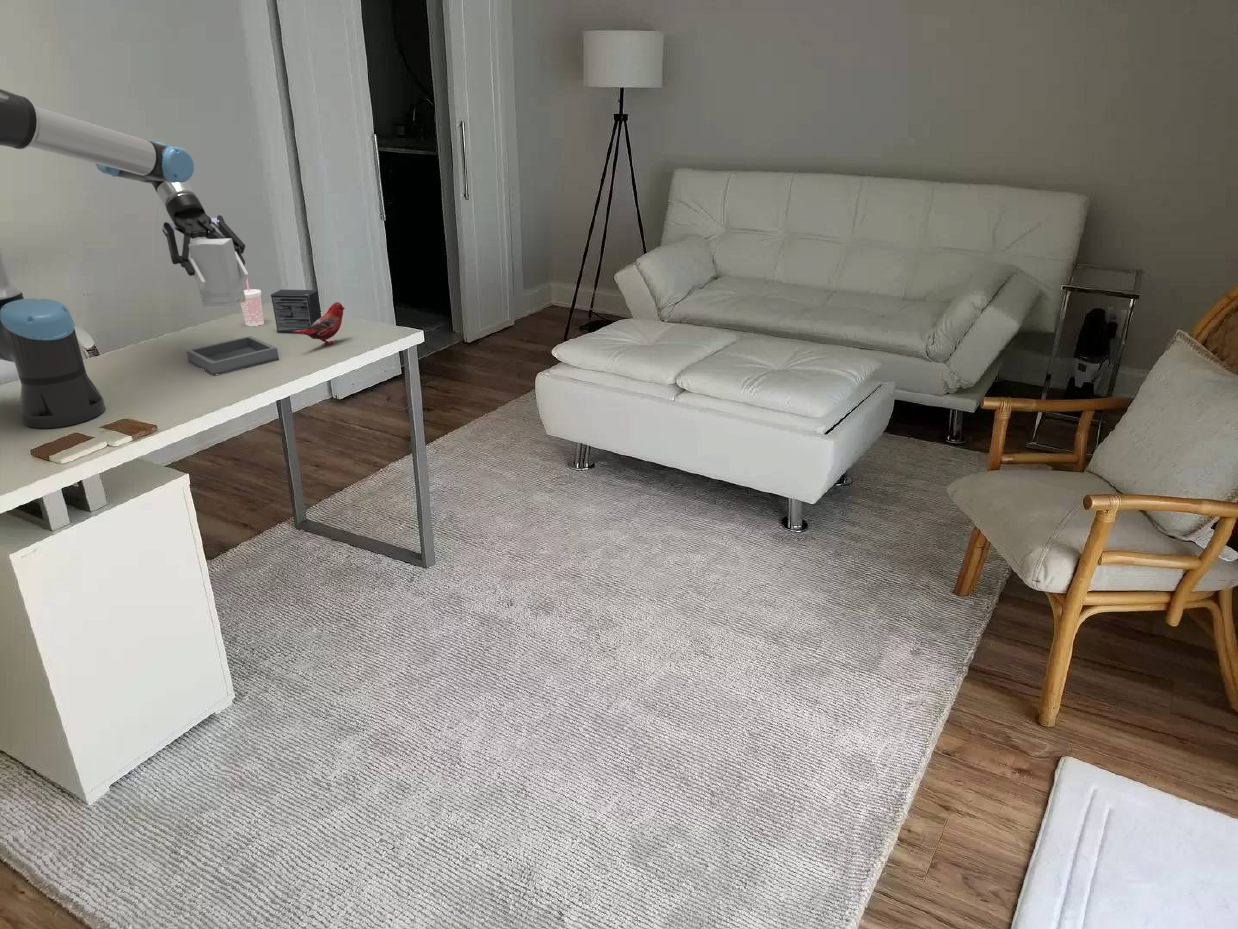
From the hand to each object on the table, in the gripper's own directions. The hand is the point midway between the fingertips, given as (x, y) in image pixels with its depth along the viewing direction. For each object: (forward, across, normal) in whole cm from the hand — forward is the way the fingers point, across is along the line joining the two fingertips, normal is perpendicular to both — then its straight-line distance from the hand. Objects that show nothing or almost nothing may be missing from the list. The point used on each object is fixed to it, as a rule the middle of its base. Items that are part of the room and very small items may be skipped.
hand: (224, 281), depth 207 cm
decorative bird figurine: (+16, -20, -13) cm, 29 cm away
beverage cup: (-6, -18, -35) cm, 40 cm away
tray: (+12, 0, -16) cm, 20 cm away
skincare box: (+2, 0, -6) cm, 7 cm away
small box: (+4, -24, -25) cm, 35 cm away
